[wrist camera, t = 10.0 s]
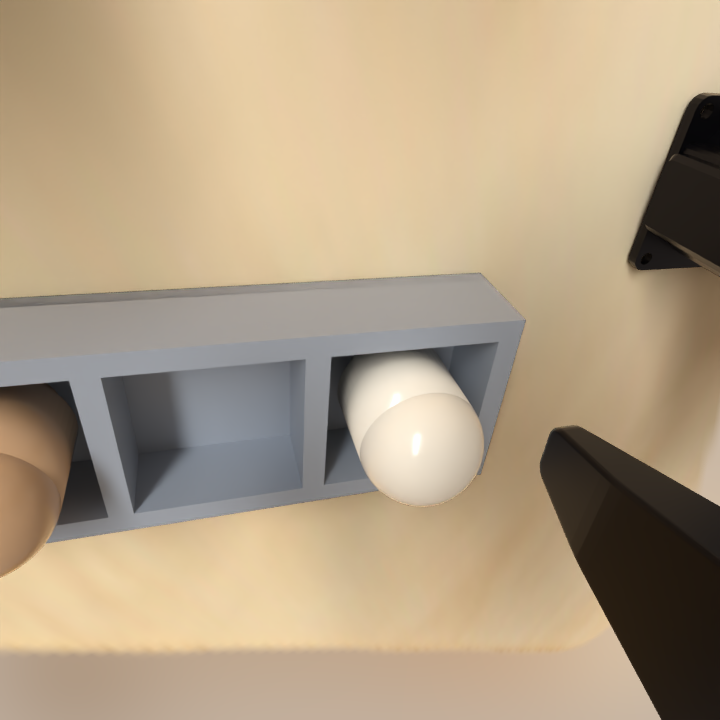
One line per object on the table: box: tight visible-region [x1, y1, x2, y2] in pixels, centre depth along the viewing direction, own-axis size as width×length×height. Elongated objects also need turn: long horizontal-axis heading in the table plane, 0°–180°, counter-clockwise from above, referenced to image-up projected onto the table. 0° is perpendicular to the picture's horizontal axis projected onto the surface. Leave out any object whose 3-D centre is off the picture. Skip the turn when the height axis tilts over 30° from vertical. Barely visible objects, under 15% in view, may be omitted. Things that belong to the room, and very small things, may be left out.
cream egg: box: [337, 348, 484, 507], centre depth 19 cm, size 4×4×6 cm
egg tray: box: [0, 273, 526, 543], centre depth 19 cm, size 21×7×4 cm, turn 85°
